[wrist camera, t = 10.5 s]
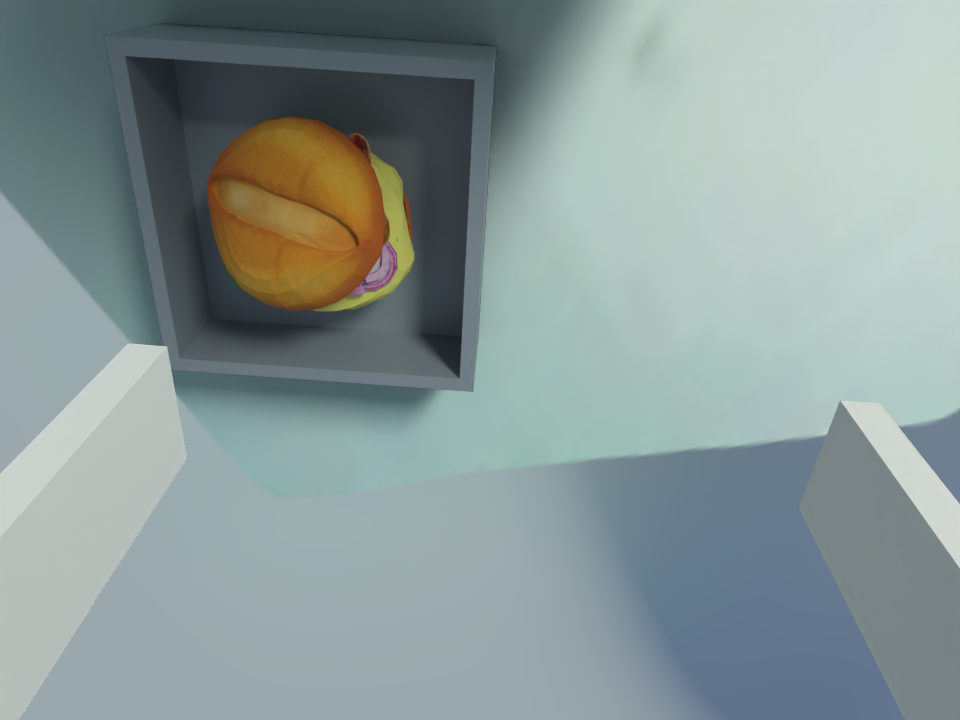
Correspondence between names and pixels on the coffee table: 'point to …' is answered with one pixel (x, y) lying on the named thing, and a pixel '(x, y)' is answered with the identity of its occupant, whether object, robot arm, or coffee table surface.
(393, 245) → the cheeseburger
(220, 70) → the bin
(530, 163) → the coffee table surface
